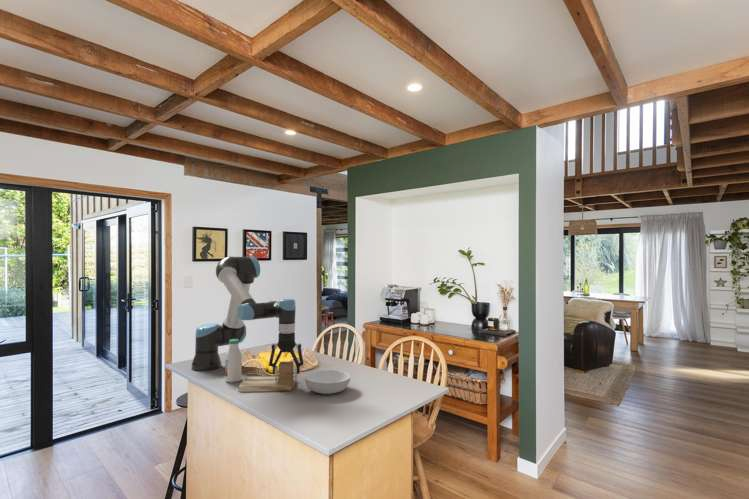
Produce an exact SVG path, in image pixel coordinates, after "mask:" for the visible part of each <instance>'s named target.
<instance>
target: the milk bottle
mask: <svg viewBox="0 0 749 499" xmlns="http://www.w3.org/2000/svg"><path fill="white" fill-rule="evenodd" d="M239 344H240V343H239V340H238V339H231V340H229V345H228V346H229V347H228V349H227V352H226V354H225V362H224V381H225V382H226V383H237V382H238V383H239V382H240V381H241V380H242V373H243V372H242V370H243V368H242V367H243V365H242V362H243V361H242V360H243V359H242V358H243V356H242V352H241V350H240V347H239Z"/></svg>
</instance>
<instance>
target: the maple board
mask: <svg viewBox="0 0 749 499" xmlns="http://www.w3.org/2000/svg"><path fill="white" fill-rule="evenodd" d="M278 378H279V375H277V382H275V375H274V376H270V375H269V376H245V377H244V379H243V380H242V381H241V383H240V384H239V385H238V392H241V393H242V392H243V393H244V392H245V393H246V392H288V391H290V392H291V391H293V390H294V387H295V385H296V382H297V381H295V375H293V382H292V384H291V390H278Z"/></svg>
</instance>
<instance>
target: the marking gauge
mask: <svg viewBox="0 0 749 499" xmlns="http://www.w3.org/2000/svg"><path fill="white" fill-rule="evenodd" d="M278 376H279V378H278V390H291V384H292V382H293V376H294V360H293V361H292V360H291V361H289V360H287V361H280V362H279V364H278Z"/></svg>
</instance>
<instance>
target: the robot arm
mask: <svg viewBox="0 0 749 499" xmlns="http://www.w3.org/2000/svg"><path fill="white" fill-rule="evenodd" d="M260 264H261V263H260V262H259V260H258V259H257V258H256V257H254V256H227V257H224V258H222V259H221V260H220V261H219V262H218V263H217V265H216V268H215V275H216V278H217V280H218V281H219V282H220V283H222V284H224V286H225V288H226V289H227V291H228V292H229V294H230V296H231V297H230V300H229V304H228V305H229V306H228V309H227V310H228V311H227V315H226V318H224V319H223V322H222V324H219V323H217V322H211V323H205V324H202V325H199V326H198V327H196V330H195V335H194V336H195V349H194V350H195V352H194V357H193V359H192V362H191V370H193V371H197V372H200V371H212V370H216V369H219V368H221V367H222V360H221V358H220V354H219V347H224V346H229V340H231V339H238V340H239V344H241V343H243V341H245V338H246V336H247V327H246V324H245V322H244V321H255V320H261V319H263V320H264V319H271V318H273V319H274V318H277V319H278V332H279V333H278V341H277V343H272V344H271V352H270V356H269V362H268V366H269V367H272V374H273V375H274V376H275V382H277V376H278V375H279V365H277V364H278V362H279V360H280V358H281V355H282V353H283V354H284V353H290V355H291V358H292V360H293V363H295V367H294V376H295V381H296V382H297V380H298V374H300V370H301V368H300V367H301V366H303V365H304V359H303V353H302V343H296V336H295V335H296V332H295V331H296V308H297V307H296V300H295V299H294V298H280V299H279V301H276V300H273V301H272V300H270V301H267V302H256V301H255V299H254V297H252V295H251V293H250V292H249V291H250V287H251V284H254V281H255V279H256V278H258V277H260V274H261V266H260ZM277 347H278V349H279V351H278V354H277V355H276V358H275V359H274V356H275V352H276V349H277ZM295 347H296V349H297V353H298V357H299V359H298V357H297V355H296V353H295V351H294V349H295ZM273 361H274V362H273Z"/></svg>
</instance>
